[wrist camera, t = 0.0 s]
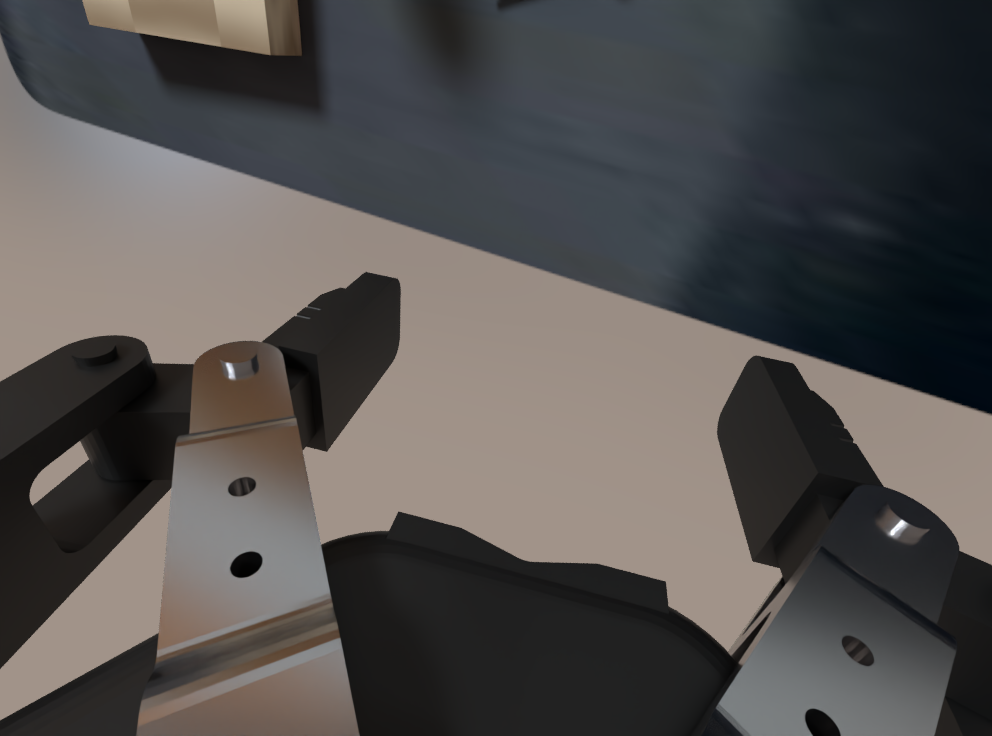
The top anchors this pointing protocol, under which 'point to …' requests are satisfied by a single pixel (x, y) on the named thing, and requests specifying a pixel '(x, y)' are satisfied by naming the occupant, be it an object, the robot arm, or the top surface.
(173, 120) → the top surface
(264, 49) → the holder
